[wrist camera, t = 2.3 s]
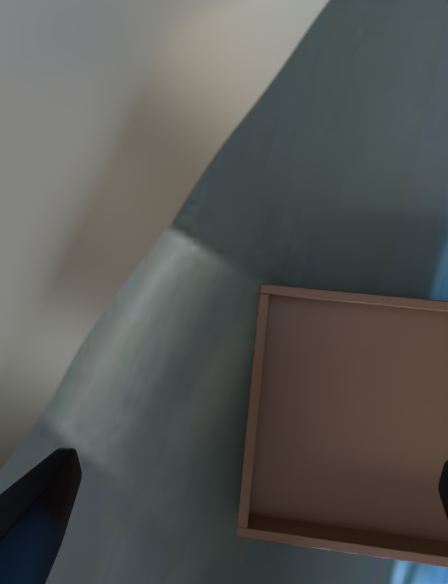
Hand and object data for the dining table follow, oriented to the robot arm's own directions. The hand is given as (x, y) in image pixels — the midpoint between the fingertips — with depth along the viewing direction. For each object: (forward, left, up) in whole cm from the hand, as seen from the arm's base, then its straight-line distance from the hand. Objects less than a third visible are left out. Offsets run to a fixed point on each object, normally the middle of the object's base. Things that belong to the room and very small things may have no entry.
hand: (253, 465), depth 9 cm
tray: (-2, -11, -16) cm, 19 cm away
